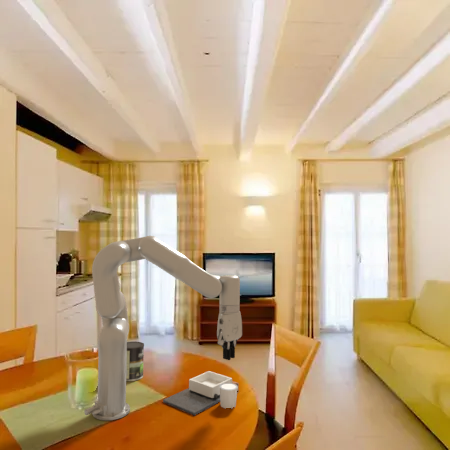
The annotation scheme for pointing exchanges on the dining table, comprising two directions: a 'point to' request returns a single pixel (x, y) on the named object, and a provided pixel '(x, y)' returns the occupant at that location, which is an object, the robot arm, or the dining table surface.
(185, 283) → the robot arm
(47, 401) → the dining table surface
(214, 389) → the white tray on base
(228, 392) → the white tapered cylinder
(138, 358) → the coffee can
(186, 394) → the dark grey base plate
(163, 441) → the dining table surface
